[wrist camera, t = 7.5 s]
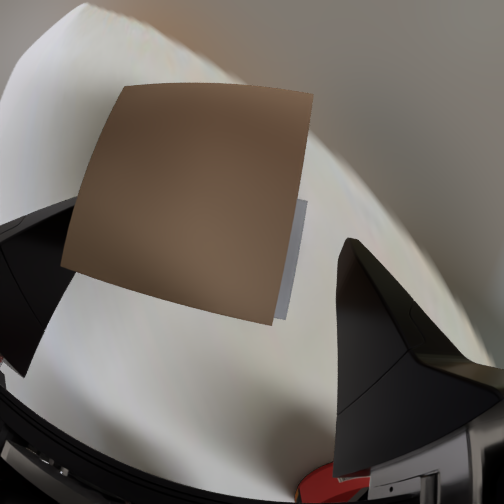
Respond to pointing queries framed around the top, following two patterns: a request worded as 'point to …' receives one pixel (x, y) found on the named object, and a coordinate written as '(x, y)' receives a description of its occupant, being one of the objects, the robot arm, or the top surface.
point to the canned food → (328, 487)
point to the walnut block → (194, 195)
